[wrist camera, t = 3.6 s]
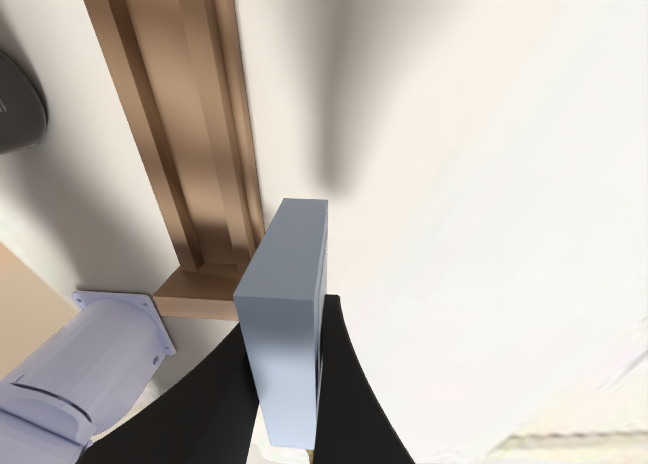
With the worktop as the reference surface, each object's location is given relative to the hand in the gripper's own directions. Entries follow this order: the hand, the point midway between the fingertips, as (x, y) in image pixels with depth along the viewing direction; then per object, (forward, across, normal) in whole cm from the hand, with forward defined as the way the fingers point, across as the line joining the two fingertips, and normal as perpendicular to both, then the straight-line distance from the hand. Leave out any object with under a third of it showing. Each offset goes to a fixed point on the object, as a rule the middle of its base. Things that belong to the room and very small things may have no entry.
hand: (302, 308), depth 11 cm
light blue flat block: (+2, 0, 0) cm, 2 cm away
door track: (+9, +8, -4) cm, 13 cm away
